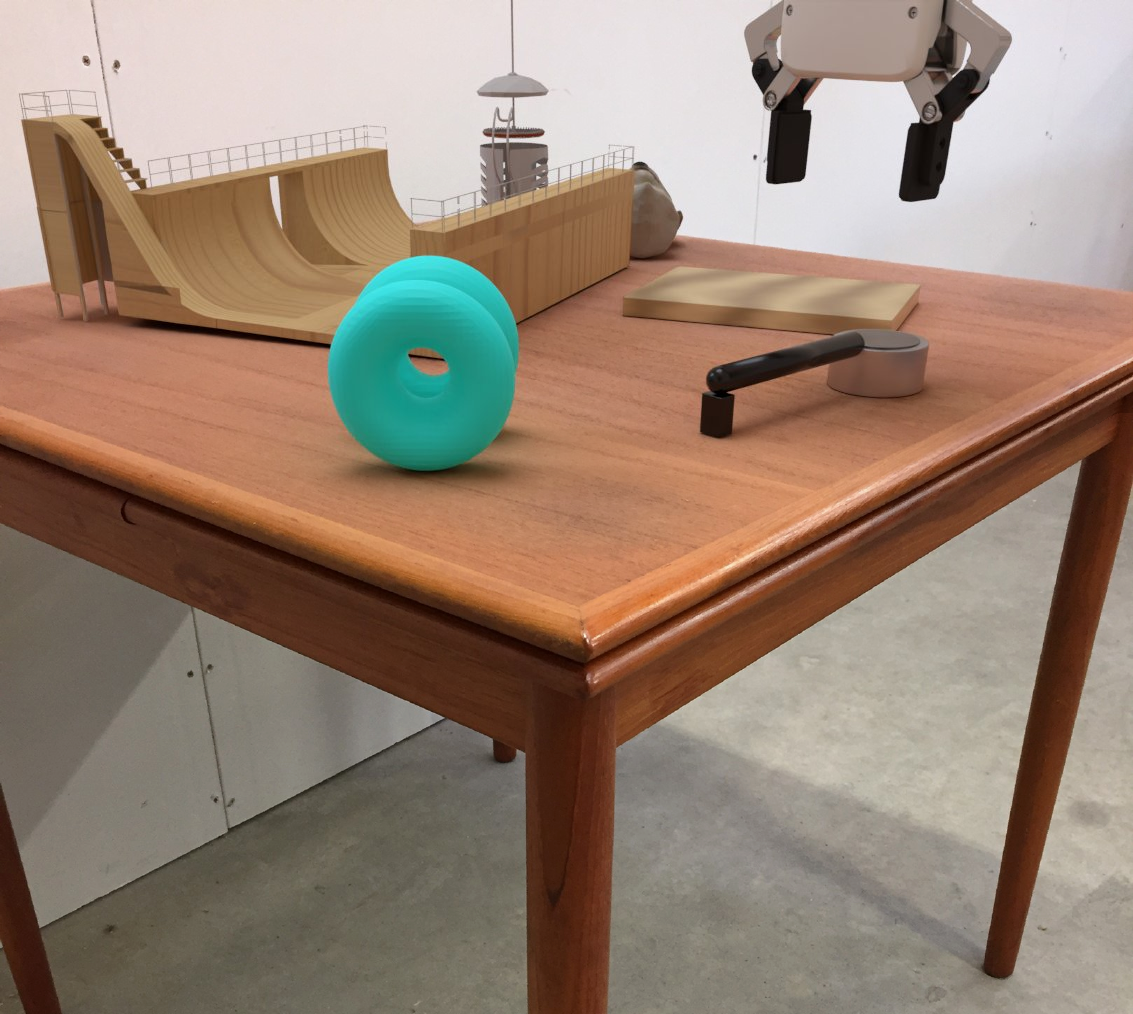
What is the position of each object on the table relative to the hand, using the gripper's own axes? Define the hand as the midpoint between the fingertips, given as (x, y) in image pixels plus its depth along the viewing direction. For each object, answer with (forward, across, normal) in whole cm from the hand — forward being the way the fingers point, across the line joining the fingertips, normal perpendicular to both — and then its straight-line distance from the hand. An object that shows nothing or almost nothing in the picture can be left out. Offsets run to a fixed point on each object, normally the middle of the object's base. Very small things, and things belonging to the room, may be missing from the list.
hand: (849, 190), depth 74 cm
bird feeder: (+13, +70, -34) cm, 79 cm away
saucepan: (+13, 0, +1) cm, 13 cm away
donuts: (+13, +9, +25) cm, 30 cm away
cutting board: (+12, +20, -20) cm, 31 cm away
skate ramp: (+13, +49, +1) cm, 51 cm away
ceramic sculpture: (+13, +48, -32) cm, 59 cm away
